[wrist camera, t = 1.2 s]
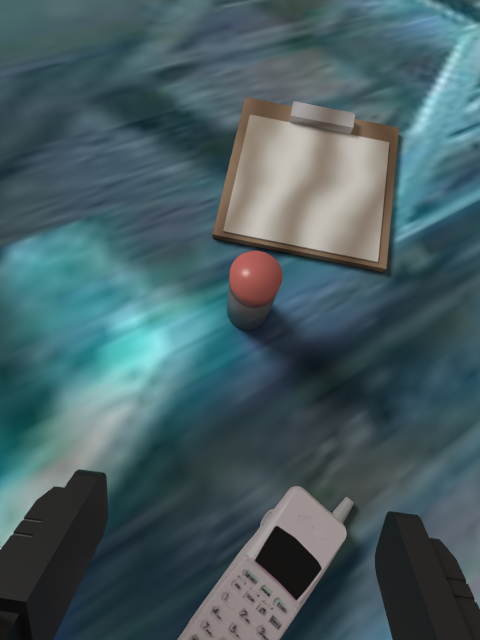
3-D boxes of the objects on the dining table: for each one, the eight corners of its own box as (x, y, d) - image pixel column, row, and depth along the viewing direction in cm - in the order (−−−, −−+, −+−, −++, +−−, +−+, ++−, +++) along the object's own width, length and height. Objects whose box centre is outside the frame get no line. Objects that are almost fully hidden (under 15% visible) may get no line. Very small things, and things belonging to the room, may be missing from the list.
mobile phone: (66, 811, 23) (321, 466, 29) (96, 733, 28) (303, 459, 34) (140, 896, 22) (386, 523, 28) (156, 799, 28) (357, 507, 34)
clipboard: (212, 238, 40) (212, 228, 38) (244, 102, 45) (246, 88, 43) (383, 272, 40) (391, 264, 38) (395, 132, 45) (403, 119, 43)
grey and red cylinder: (223, 325, 37) (225, 293, 29) (231, 288, 39) (235, 246, 30) (264, 333, 37) (277, 304, 29) (270, 295, 38) (286, 256, 30)
